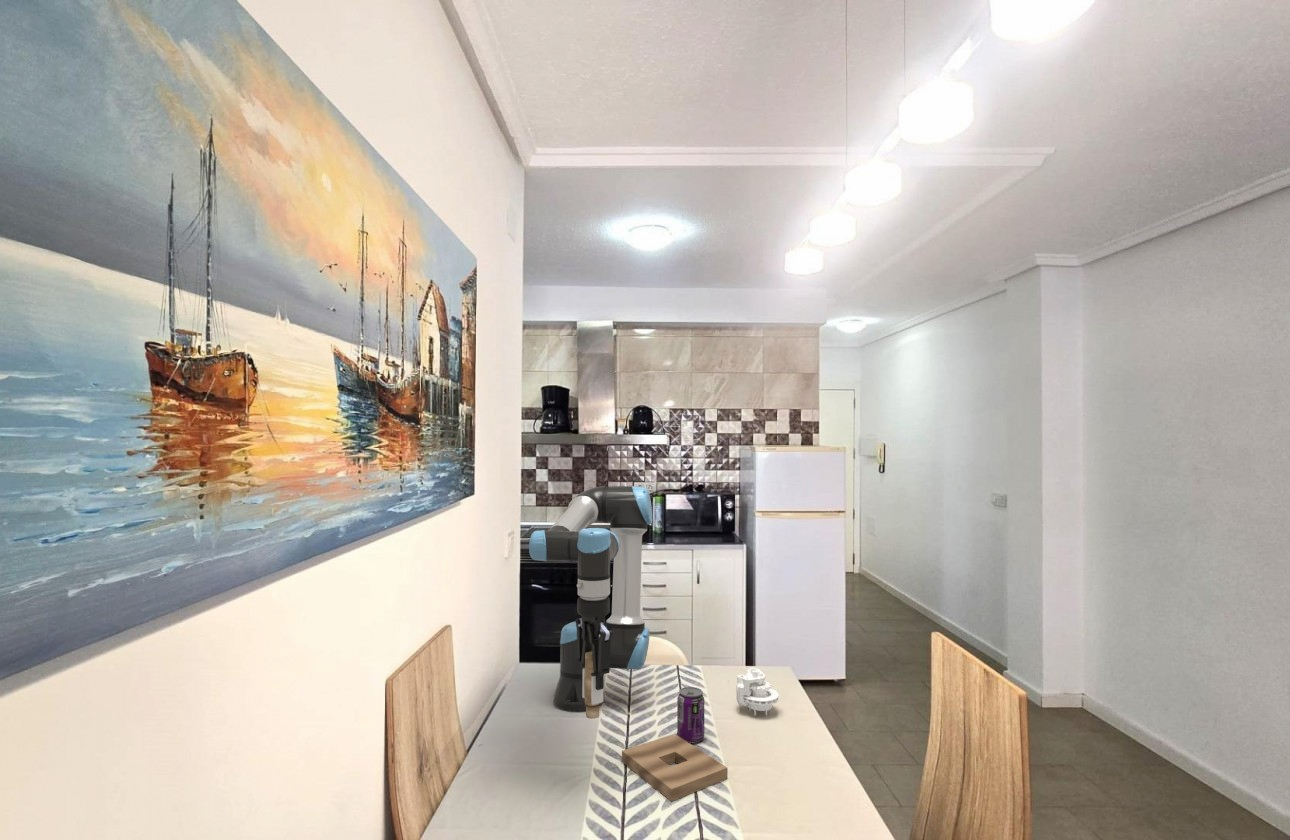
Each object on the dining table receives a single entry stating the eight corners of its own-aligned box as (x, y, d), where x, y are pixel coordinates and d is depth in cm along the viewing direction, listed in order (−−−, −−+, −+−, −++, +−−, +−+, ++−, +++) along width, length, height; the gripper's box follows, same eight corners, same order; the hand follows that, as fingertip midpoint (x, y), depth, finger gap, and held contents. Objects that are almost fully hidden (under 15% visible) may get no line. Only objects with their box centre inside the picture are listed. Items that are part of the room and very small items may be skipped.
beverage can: (702, 746, 150) (702, 697, 150) (675, 743, 151) (675, 695, 152) (705, 733, 157) (705, 687, 157) (679, 731, 158) (679, 685, 159)
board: (621, 761, 142) (621, 750, 142) (674, 743, 151) (674, 733, 151) (671, 801, 125) (671, 789, 125) (727, 778, 134) (727, 767, 134)
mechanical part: (776, 722, 163) (776, 678, 164) (733, 716, 167) (733, 673, 168) (780, 706, 174) (780, 665, 175) (740, 701, 178) (739, 661, 179)
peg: (581, 714, 136) (582, 652, 136) (595, 710, 138) (595, 649, 138) (589, 720, 133) (589, 657, 133) (603, 716, 135) (603, 654, 135)
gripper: (563, 591, 141) (561, 691, 140) (597, 606, 128) (596, 717, 126) (590, 587, 145) (589, 684, 144) (626, 601, 132) (625, 708, 131)
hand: (592, 699), depth 135 cm, fingers closed on peg, 3 cm apart
